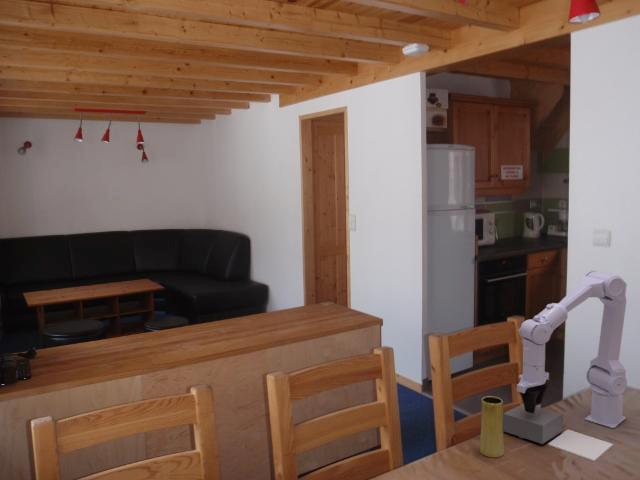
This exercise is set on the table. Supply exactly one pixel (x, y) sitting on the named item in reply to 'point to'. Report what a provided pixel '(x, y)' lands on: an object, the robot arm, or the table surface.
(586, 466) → the table surface
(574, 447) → the mat
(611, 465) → the table surface
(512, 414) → the cover
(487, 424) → the vase
